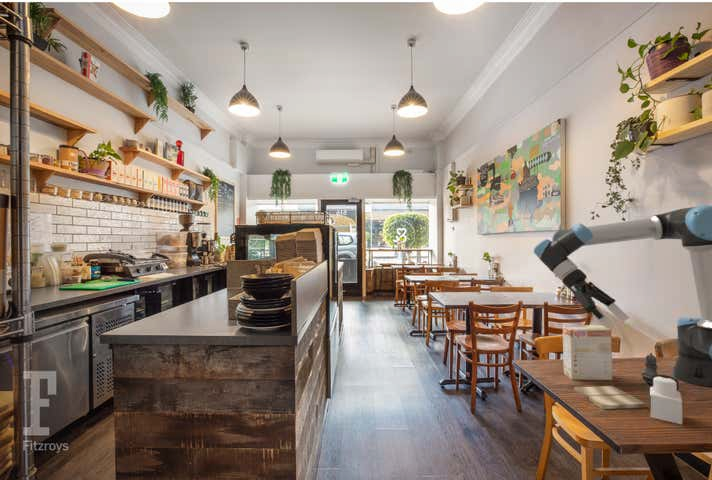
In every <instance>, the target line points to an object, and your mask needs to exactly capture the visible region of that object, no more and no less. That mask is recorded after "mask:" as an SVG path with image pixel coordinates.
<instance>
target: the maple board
mask: <svg viewBox="0 0 712 480" xmlns="http://www.w3.org/2000/svg"><path fill="white" fill-rule="evenodd" d="M573 391H574V392H576V393H577V394H579V395H580V396H582V397H583V398H585V399H587V400H588V401H589V402H591V403H592V404H594V405H596V406H598V408H600V409H602V410H610V409H612V410H615V409H638V408H639V409H641V408H642V409H643V408H647V406H646V404H647V403H645V402H643V401H641V400H640V399H638V398H637V397H634V396H632V395H630V394H629V393H627V392H625V391H623V390H621V389H619V388H617V387H616V386H614V385H605V386H604V385H603V386H577V387H575V386H574V388H573Z"/></svg>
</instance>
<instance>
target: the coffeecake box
mask: <svg viewBox="0 0 712 480" xmlns="http://www.w3.org/2000/svg"><path fill="white" fill-rule="evenodd" d="M612 346H613V345H612V329H611V328H610V327H609V328H608V329H607V328H606V327H605V326H604V325H603V324H602V325H601V324H600V325H599V324H597V325H596V324H595V325H594V324H593V325H591V324H588V325H587V324H585V325H584V324H583V325H582V324H581V325H580V324H579V325H578V324H577V325H575V324H574V325H571V324H569V325H564V324H563V325H562V349H563V351H562V356H563V361H562V362H563V374H564V375H565V376H566V377H568V378H569V379H570V380H574V381H576V380H581V381H584V380H586V381H588V380H589V381H593V380H594V381H613V378H614V376H613V350H612Z"/></svg>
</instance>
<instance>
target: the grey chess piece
mask: <svg viewBox="0 0 712 480" xmlns="http://www.w3.org/2000/svg"><path fill="white" fill-rule="evenodd" d="M644 365H645V372H642V373H641V376H642V379H643V381H644V382H642V385H643V386H644V387H647V388H649V389H650V387H652V376H653V375H659V374H658V370H657V369H658V367H659V366H658V365H657V357H656V356H655V355H654V354H653V353H652V352H650V353H649V354H647V355H646V356H645V364H644Z"/></svg>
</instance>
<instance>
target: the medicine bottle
mask: <svg viewBox="0 0 712 480" xmlns="http://www.w3.org/2000/svg"><path fill="white" fill-rule="evenodd" d="M649 408H650V409H649V412H650V413H649V414H650V418H651V419H655V420H660V421H664V422H669V423H672V424H677V425H683V401H682V394H681V392H679V380H677V378H676V377H674V376H673V377H672V376H670V375H668V374H667V375H666V374H658V375H653V376H652V387H650V388H649Z"/></svg>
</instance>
